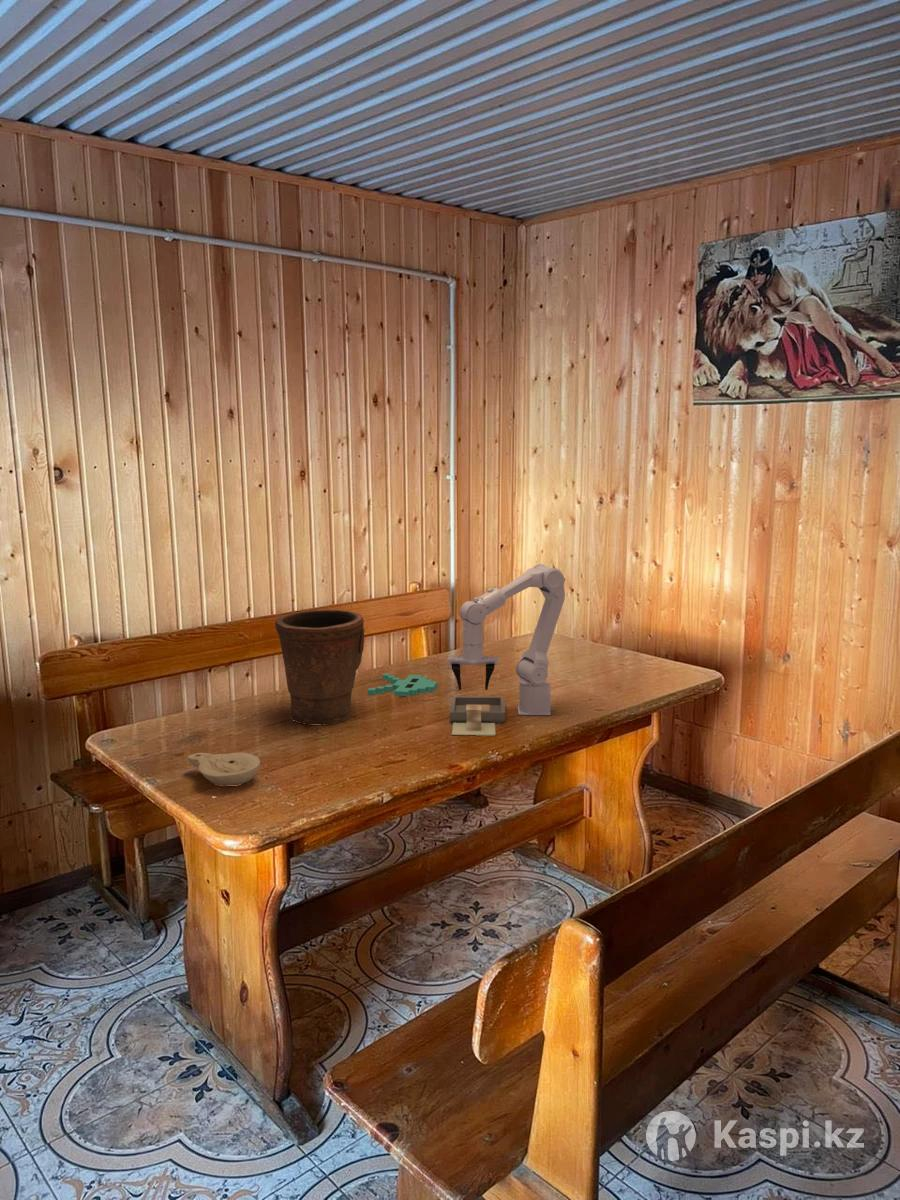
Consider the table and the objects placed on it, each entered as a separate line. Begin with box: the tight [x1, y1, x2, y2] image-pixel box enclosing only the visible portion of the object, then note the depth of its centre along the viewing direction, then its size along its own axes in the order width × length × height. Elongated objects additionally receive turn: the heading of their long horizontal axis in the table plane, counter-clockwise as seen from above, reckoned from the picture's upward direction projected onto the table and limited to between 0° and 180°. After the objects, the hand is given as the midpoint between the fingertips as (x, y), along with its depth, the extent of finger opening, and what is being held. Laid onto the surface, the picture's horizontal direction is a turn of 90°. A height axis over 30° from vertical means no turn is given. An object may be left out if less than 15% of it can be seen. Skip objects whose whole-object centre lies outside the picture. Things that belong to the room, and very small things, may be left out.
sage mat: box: [451, 723, 496, 737], centre depth 250 cm, size 12×10×1 cm
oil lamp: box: [187, 752, 261, 786], centre depth 216 cm, size 21×14×5 cm
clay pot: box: [274, 609, 365, 726], centre depth 263 cm, size 25×29×30 cm
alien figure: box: [367, 672, 438, 698], centre depth 292 cm, size 20×2×20 cm
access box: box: [449, 695, 506, 724], centre depth 264 cm, size 16×16×3 cm
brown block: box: [467, 706, 481, 731], centre depth 250 cm, size 4×4×6 cm
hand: (473, 688), depth 258 cm, fingers open, 7 cm apart
